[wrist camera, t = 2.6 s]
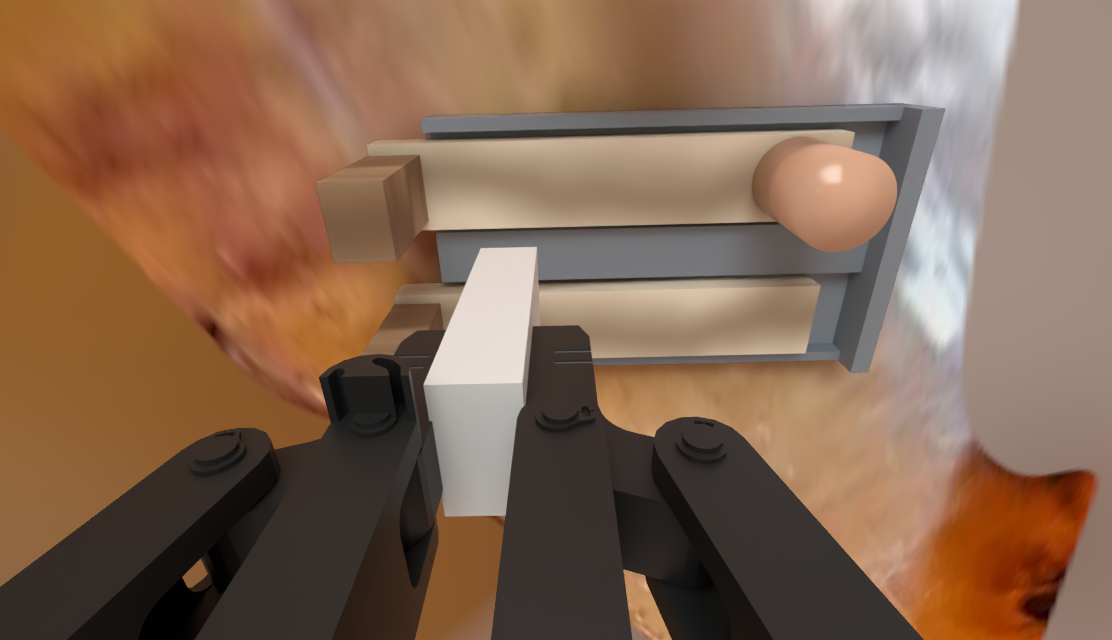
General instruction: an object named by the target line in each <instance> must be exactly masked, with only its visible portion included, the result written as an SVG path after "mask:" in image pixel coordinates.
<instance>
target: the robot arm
mask: <svg viewBox="0 0 1112 640" xmlns="http://www.w3.org/2000/svg"><path fill="white" fill-rule="evenodd" d="M319 380H320V383H321V387H322V391H323V395H324V398H325V402H326V406H327V409H328V413H329V417H330V421H331V424H330V425H329V427H328V429H327V430H326V432H325V433H324V435H323V437H322V438H321V439H318V440H315V441H311V442H307V443H303V444H299V445H294V446H289V447H285V448H281V449H276V450H274V448H273V445H272V442H271V439H270V438H269V437H268V435H267V433H266V432H263V431H260V430H258V429H255V428H236V429H229V430H224V431H220V432H216V433H214V434H213V435H210V436H207V437H205V438H203V439H200V440H198V441H196V442H195V443H193V444H191V445H190V446H188V447H186V448H185V449H183V450H182V451H180V452H179V453H178V454H176V455H175V456H174V457H172V458H171V459H170V460H168V461H167V462H166V463H164V464H163V465H162V466H160V467H159V468H158V469H156V470H155V471H154V472H152V473H151V474H150V475H148V476H147V477H146V478H144V479H143V480H142V481H140V482H139V483H138V484H136V485H135V486H134V487H132V488H131V489H130V490H128V491H127V492H126V493H124V494H123V495H122V496H120V497H119V498H118V499H116V500H115V501H114V502H112V503H111V504H110V505H109V506H107V507H106V508H105V509H103V510H102V511H101V512H99V513H98V514H97V515H95V516H94V517H93V518H91V519H90V520H89V521H87V522H86V523H85V524H83V525H82V526H81V527H79V528H78V529H77V530H75V531H74V532H73V533H71V534H70V535H69V536H67V537H66V538H65V539H63V540H62V541H61V542H59V543H58V544H57V545H55V546H54V547H53V548H52V549H50V550H49V551H47V552H46V553H45V554H43V555H42V556H41V557H39V558H38V559H37V560H35V561H34V562H33V563H31V564H30V565H29V566H28V567H26V568H25V569H23V570H22V571H21V572H20V573H18V574H17V575H16V576H14V577H13V578H12V579H10V580H9V581H8V582H6V583H5V584H4V585H2V586H1V587H0V640H415V636H416V632H417V628H418V624H419V620H420V615H421V612H422V608H423V603H424V599H425V595H426V591H427V587H428V583H429V579H430V575H431V571H432V566H433V563H434V558H435V554H436V550H437V546H438V526H437V520H436V513H437V509H438V506H439V502H440V498H441V496H442V502H443V507H444V514H445V516H501V515H506V516H505V525H504V533H503V543H502V551H501V559H500V567H499V576H498V585H497V593H496V602H495V611H494V619H493V628H492V636H491V640H632V634H631V626H630V618H629V611H628V603H627V595H626V588H625V580H624V572H623V569H625V570H628V571H632V572H635V573H639V574H642V575H645V577H646V581H647V584H648V587H649V589H650V591H651V593H652V596H653V598H654V600H655V602H656V605H657V607H658V609H659V611H660V614H661V616H662V618H663V620H664V623H665V625H666V627H667V629H668V631H669V634H670V636H671V638H672V640H924V639H923V638H922V637H921V636H920V635H919V634H918V633H917V632H916V630H915V629H914V628H913V627H912V626H911V625H910V624H909V623H908V621H907V620H906V619H905V618H904V617H903V616H902V615H901V614H900V612H899V611H898V610H897V609H896V608H895V607H894V606H893V605H892V603H891V602H890V601H889V600H888V599H887V598H886V597H885V596H884V594H883V593H882V592H881V591H880V590H879V589H878V588H877V587H876V585H875V584H874V583H873V582H872V581H871V580H870V579H869V578H868V576H867V575H866V574H865V573H864V572H863V571H862V570H861V569H860V567H859V566H858V565H857V564H856V563H855V562H854V561H853V560H852V558H851V557H850V556H849V555H848V554H847V553H846V552H845V551H844V549H843V548H842V547H841V546H840V545H839V544H838V543H837V542H836V540H835V539H834V538H833V537H832V536H831V535H830V534H829V533H828V531H827V530H826V529H825V528H824V527H823V526H822V525H821V524H820V522H819V521H818V520H817V519H816V518H815V517H814V516H813V515H812V513H811V512H810V511H809V510H808V509H807V508H806V507H805V506H804V504H803V503H802V502H801V501H800V500H799V499H798V498H797V497H796V495H795V494H794V493H793V492H792V491H791V490H790V489H789V488H788V487H787V485H786V484H785V483H784V482H783V481H782V480H781V479H780V478H779V476H778V475H777V474H776V473H775V472H774V471H773V470H772V469H771V467H770V466H769V465H768V464H767V463H766V462H765V461H764V460H763V458H762V457H761V456H760V455H759V454H758V453H757V452H756V451H755V449H754V448H753V447H752V446H751V445H750V444H749V443H748V442H747V440H746V439H745V438H744V437H743V436H741V435H740V434H739V433H738V432H736V431H735V430H734V429H733V428H732V427H729V426H727V425H725V424H723V423H720V422H718V421H716V420H711V419H706V418H701V417H683V418H678V419H675V420H672V421H669V422H666V423H665V424H664V425H663V426H661V427H660V428H659V429H658V430H657V431H656V434H655V437H651V436H646V435H642V434H637V433H633V432H630V431H626V430H624V429H622V428H619V427H617V426H615V425H614V424H612V423H611V422H610V421H608V420H607V419H606V418H605V417H604V416H603V414H602V413H601V411H600V409H599V406H598V402H597V394H596V386H595V378H594V369H593V363H592V353H591V345H590V337H589V335H588V334H587V333H586V332H585V331H584V330H583V329H582V328H581V327H580V326H579V325H566V326H540V307H539V283H538V260H537V247H510V248H481V249H480V251H479V253H478V256H477V258H476V261H475V263H474V265H473V268H472V270H471V272H470V275H469V277H468V280H467V282H466V284H465V287H464V289H463V292H462V294H461V296H460V299H459V301H458V304H457V306H456V308H455V311H454V313H453V316H452V318H451V320H450V323H449V325H448V327H447V330H417V331H415V332H414V333H413V334H411V335H410V336H408V337H407V338H406V339H404V340H403V341H402V342H401V343H400V345H399V346H398V348H397V350H396V352H395V353H394V355H387V354H371V355H363V356H358V357H355V358H351V359H348V360H344V361H342V362H340V363H338V364H336V365H334V366H332V367H330V368H329V369H328V370H326V371H325V372H324V373H323V374H322V375H321V376H320V377H319ZM200 558H201V560H202V562H203V564H204V566H205V569H206V570H207V573H208V575H207V576H206V577H205V578H204V579H203V580H201V581H200V582H199V583H197V584H196V585H195V586H193V587H192V588H188V587H187V586H186V584H185V582H184V580H183V578H182V576H183V575H184V574H185V573H186V572H187V571H188V570H189V569H190V568H191V567H192V566H193V565H194V564H195V563H196V562H197V561H198V560H199V559H200Z"/></svg>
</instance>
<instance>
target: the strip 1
mask: <svg viewBox="0 0 1112 640" xmlns="http://www.w3.org/2000/svg"><path fill="white" fill-rule="evenodd" d="M854 135H855V132H851V131H846V130H842V129H838V128H829V129H791V130H752V131H714V132H675V133H637V134H599V135H560V136H522V137H483V138H445V139H406V140H377V141H375V142H372V143H370V144H368V145H367V151H368V156H367V157H365V158H363V159H361V160H359V161H357V162H355V163H353V164H351V165H349V166H347V167H345V168H343V169H341V170H339V171H337V172H336V173H334V174H332V175H330V176H328V177H326V178H324V179H322V180H320V181H318V182H316V187H317V191H318V196H319V200H320V204H321V209H322V213H323V217H324V222H325V226H326V230H327V235H328V239H329V243H330V248H331V252H332V256H333V261H334V264H339V263H380V262H397V261H398V259H399V258H400V257H401V256H402V254H403V253H404V252H405V250H406V249H407V248H408V247H409V245H410V244H411V243H412V242H413V240H414V239H415V238H416V236H417V235H418V234H419V233H420V231H421V230H460V229H500V228H541V227H581V226H621V225H662V224H702V223H742V222H777V221H775V220H774V219H772V218H771V217H770V216H768V215H767V214H765V213H764V212H763V211H762V210H761V209H760V208H759V207H758V206H757V204H756V202H755V200H754V197H753V193H752V180H753V175H754V172H755V169H756V167H757V165H758V163H759V161H760V160H761V158H762V157H763V156H764V155H765V154H766V152H767V151H768V150H770V149H771V148H772V147H773V146H775V145H776V144H778V143H779V142H781V141H783V140H786V139H788V138H792V137H797V136H807V137H812V138H816V139H819V140H823V141H826V142H829V143H833V144H836V145H840V146H843V147H846V148H850V149H851V148H852V144H853V139H854Z"/></svg>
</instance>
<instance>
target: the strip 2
mask: <svg viewBox="0 0 1112 640" xmlns="http://www.w3.org/2000/svg"><path fill="white" fill-rule="evenodd" d="M538 283H539V307H540V326H566V325H579V326H580V327H581V328H582V329H583V330H584V331H585V332H586V333H587V334H588V335H589V337H590V345H591V353H592V358H623V357H667V356H710V355H754V354H797V353H806V349H807V344H808V340H809V336H810V331H811V327H812V322H813V318H814V313H815V309H816V304H817V300H818V295H819V291H820V287H821V286H820V285H819V284H818V283H817V282H816V281H814V280H813V279H812V278H811V277H810V276H808V275H807V274H791V275H750V276H708V277H667V278H625V279H584V280H542V281H538ZM465 284H466V282H459V283H418V284H402V285H401V286H400V288H399V289H398V291H397V292H396V294H395V295H394V299H395V305H394V306H393V308H392V309H391V311H390V312H389V314H388V315H387V317H386V318H385V320H384V321H383V323H382V324H381V326H380V327H379V329H378V331H377V332H376V334H375V335H374V337H373V338H372V340H371V341H370V343H369V344H368V346H367V347H366V349H365V350H364V352H363V354H362V355H361V356H363V355H371V354H387V355H394V353H395V352H396V350H397V348H398V346H399V345H400V343H401V342H402V341H403V340H404V339H406V338H407V337H408V336H410V335H411V334H413V333H414V332H415V331H417V330H447V327H448V325H449V323H450V320H451V318H452V316H453V313H454V311H455V308H456V306H457V304H458V301H459V299H460V296H461V294H462V292H463V289H464V287H465Z"/></svg>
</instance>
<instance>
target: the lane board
mask: <svg viewBox="0 0 1112 640" xmlns="http://www.w3.org/2000/svg"><path fill="white" fill-rule="evenodd" d="M944 112H945V109H944V108H936V107H928V106H919V105H911V104H903V103H900V104H862V105H824V106H786V107H748V108H710V109H672V110H634V111H596V112H558V113H520V114H482V115H444V116H427V117H425V118H423V119H420V121H421V129H422V133H427V137H428V139H445V138H483V137H522V136H560V135H599V134H637V133H675V132H714V131H752V130H791V129H829V128H838V129H842V130H846V131H851V132H855V135H854V139H853V144H852V148H851V149H853V150H857V151H860V152H864V153H867V154H870V155H873V156H876V157H878V158H880V159H882V160H883V161H884V162H885V163H887V165H888V166H889V167H890V168H891V170H892V171H893V173H894V176H895V178H896V183H897V199H896V203H895V206H894V209H893V212H892V214H891V216H890V218H889V219H888V221H887V222H886V224H885V225H884V226H883V228H882V229H881V230H880V231H879V232H878V233H877V234H876V235H875V236H874V237H872V238H871V239H870V240H868V241H867V242H865V243H864V244H862V245H860V246H858V247H856V248H853V249H850V250H847V251H842V252H825V251H821V250H818V249H815V248H813V247H812V246H810V245H809V244H807V243H806V242H805V241H803V240H802V239H800V238H799V237H798V236H796V235H795V234H793V233H792V232H791V231H789V230H788V229H786V228H785V227H784V226H782V225H781V224H779V223H778V222H742V223H702V224H662V225H621V226H581V227H541V228H500V229H460V230H437V232H436V241H437V248H438V256H439V263H440V271H441V278H442V282H446V283H459V282H467V280H468V277H469V275H470V272H471V270H472V268H473V265H474V263H475V261H476V258H477V256H478V253H479V251H480V249H481V248H510V247H537V260H538V281H542V280H584V279H625V278H667V277H708V276H750V275H791V274H807V275H808V276H810V277H811V278H812V279H813V280H814V281H816V282H817V283H818V284H819V285H820V286H821V287H820V291H819V295H818V300H817V304H816V309H815V313H814V318H813V322H812V327H811V331H810V336H809V340H808V344H807V349H806V353H797V354H754V355H710V356H667V357H623V358H592V363H593V366H599V365H643V364H686V363H730V362H774V361H817V360H839V361H840V362H841V363H842V364H843V365H844V366H845V367H846V368H847V370H848V371H849V372H850V373H859V372H868V371H869V367H870V364H871V361H872V357H873V354H874V350H875V347H876V344H877V340H878V337H879V333H880V330H881V326H882V323H883V320H884V316H885V313H886V309H887V306H888V303H889V299H890V296H891V292H892V289H893V286H894V282H895V279H896V275H897V272H898V269H899V265H900V262H901V258H902V255H903V251H904V248H905V245H906V241H907V238H908V234H909V231H910V228H911V224H912V221H913V217H914V214H915V211H916V207H917V204H918V200H919V197H920V194H921V190H922V187H923V183H924V180H925V176H926V173H927V170H928V166H929V163H930V159H931V156H932V153H933V149H934V146H935V142H936V139H937V136H938V132H939V129H940V125H941V122H942V119H943V115H944Z"/></svg>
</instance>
